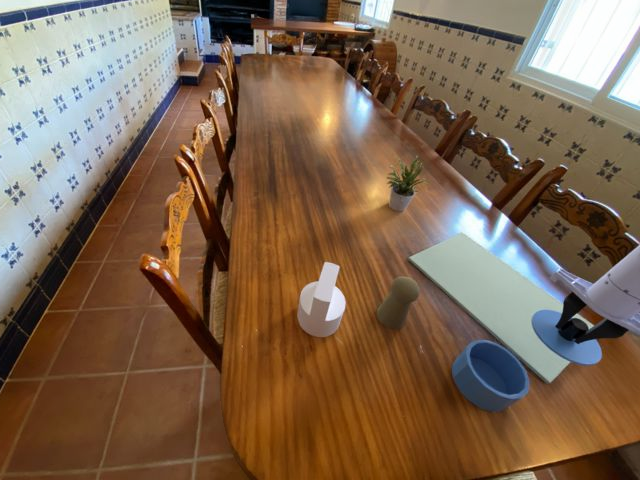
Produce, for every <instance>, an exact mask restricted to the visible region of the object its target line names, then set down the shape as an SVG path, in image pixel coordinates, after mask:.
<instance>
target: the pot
mask: <svg viewBox="0 0 640 480" xmlns="http://www.w3.org/2000/svg"><path fill="white" fill-rule="evenodd" d="M451 374H452V378H453V381H454V383H455V385H456V387H457V389H458V390H459V392H460V393H461V394H462V395H463V396H464V398H465V399H467V400H468V401H469V402H470V403H471V404H473V405H474V406H476V407H478V408H480V409H481V410H484V411H486V412H493V413H495V412H501V411H504V410H506V409H508V408H509V407H511V406H512V405H514V404H515V403H517V402H519V401H520V400H522V399H523V398H524V397H525V396H526V395H527V394H528V393H529V391H530V383H531V381H530V378H529V376H528V372H527V370H526V368H525V367H524V366H523V363H522V362H521V360H520V359H519V358H518V357H516V356H515V355H514V354H513V353H512V352H511V351H510V350H509V349H508V348H506V347H505V346H503V345H501V344H499V343H497V342H495V341H490V340H488V339H476V340H473V341H472V342H471V343H469V344H468V345H467V346H465V348H464V349H463V350H462V351H461V353H459V354H458V355H457V356H456V358H455V359H454V361H453V363H452V366H451Z"/></svg>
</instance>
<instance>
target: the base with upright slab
mask: <svg viewBox="0 0 640 480" xmlns="http://www.w3.org/2000/svg"><path fill="white" fill-rule="evenodd" d="M339 272H340V265H338V264H336V263H333V262H328V261H324V263H323V266H322V269H321V272H320V276H319V278H318V281H313V282H310V283H307V284H306V285H305V286H304V287H303V288H302V290H301V292H300V296H299V300H298V307H297V312H296V313H297V314H296V317H297V322H298V325H299V326H300V328H301V329H302V330H303V331H304V332H305V333H307V334H309V335H310V336H312V337H317V338H326V337H330V336H332V335H334V334H335V333H336V332H337V330H338V329H339V328H340V325H341V321H342V319H343V316H344V312H345V310H346V302H347V301H346V298H345V295H344V293H343V292H342V291H341V289H340V288H338V287H337V286H336V283H337V279H338V275H339Z"/></svg>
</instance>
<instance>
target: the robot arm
mask: <svg viewBox="0 0 640 480" xmlns="http://www.w3.org/2000/svg"><path fill="white" fill-rule="evenodd" d="M548 280H549V281H551V282H552V283H555V284H556V283H558V284H559V285H561V286H562V287H564V288H565V289H567V290H568V291H570V293H569V294H568V295H567V296H566V297H565V298H564V299H563V302H562V303H563V311H562V315H561V318H560V320H559V322H558V323H557V324H556V325H555V327H556V328H557V329H558V330H559V329H560V328H562V327H563V326H564V325H565V324H566V323H567V322H568V321H569V320H570V319H571V318H572V317H573V316H574V315H576V314H579V313H580V312H581V311H582V310H583V309H584V308H585V307H587V306H588V308H590V309H591V310H592V311H594V313H596V314H598V315H599V316H601V317H603V319H602V320H601V321H599V322H598V323H597V324H594V327H592V328H590V329H588V331H586V332H585V333H583V334H582V335H581V336H579V337H578V338H576V339H575V340H574V342H575V343H577V344H580V343H582V342H585V341H589V340H594V339H596V340H601V339H619V338H622V337H623V336H624V335H625V334H627V332H631V333H632V334H634V335H636V336H637V337H638V338H640V244H639V245H637V246H636V247H635V248H634V249H633V250H631V251H630V252H629V253H628V254H626V256H625V257H623V258H622V259H621V260H620V261H618V262H617V263H616V264H615V265H614V266H613V267H611V269H609V270H608V271H607V272H606V273H604V275H602V276H601V277H600V278H599V279H598V280H597V281H595V282H594V283H593V282H590V281H588V280H586V279H583V278H581V277H579V276H578V275H577V276H576V275H575V274H573V273H571V272H568V271H567V270H565V269H563V268H562V267H560V268H559V269H557V270H556V271H554V272H553V273H552V274H551V276H550V277H548Z"/></svg>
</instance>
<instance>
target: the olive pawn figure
mask: <svg viewBox="0 0 640 480" xmlns="http://www.w3.org/2000/svg"><path fill="white" fill-rule="evenodd" d="M419 296H420V286H419V285H418V283H417V282H416V280H414V279H413V278H411V277H409V276H404V275H403V276H401V275H400V276H398V277H396V278H394V280H393V281H392V282H391V284H390V292H388V294H387V295H386V296H385V298H384V299H383V301H382V302H381V304H379V306H378V307H377V310H376V316H377V320H378V321H379V322H380V323H381V324H382V325H383V326H384V327H387V328H389V329H391V330H399V329H401V328H404V326H405V325H406V321H407V318H408V315H409V313H410V309H411V307H412V303H414V302H415V301H417V299H418V298H419Z"/></svg>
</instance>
